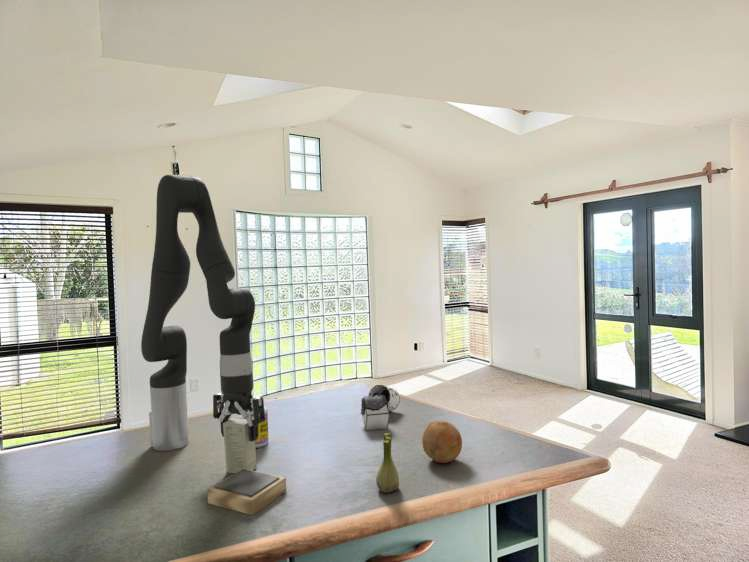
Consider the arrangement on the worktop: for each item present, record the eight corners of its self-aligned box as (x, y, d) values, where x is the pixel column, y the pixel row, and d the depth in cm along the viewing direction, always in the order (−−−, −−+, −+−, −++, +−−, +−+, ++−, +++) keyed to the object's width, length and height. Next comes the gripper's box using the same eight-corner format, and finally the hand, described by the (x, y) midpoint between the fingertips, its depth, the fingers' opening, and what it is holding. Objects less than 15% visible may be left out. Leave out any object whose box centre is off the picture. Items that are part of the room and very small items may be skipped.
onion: (467, 456, 123) (466, 416, 123) (456, 472, 114) (455, 429, 114) (430, 451, 127) (429, 413, 127) (417, 466, 118) (416, 425, 118)
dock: (207, 503, 103) (207, 487, 103) (244, 481, 113) (243, 466, 112) (252, 515, 97) (251, 498, 97) (286, 491, 107) (285, 475, 107)
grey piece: (372, 408, 166) (371, 379, 166) (401, 409, 164) (400, 379, 164) (354, 434, 142) (353, 400, 141) (388, 435, 140) (387, 401, 139)
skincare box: (257, 468, 120) (255, 418, 119) (246, 475, 116) (244, 424, 115) (235, 465, 122) (233, 417, 121) (224, 472, 118) (222, 422, 117)
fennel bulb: (390, 498, 103) (389, 441, 102) (370, 492, 105) (369, 437, 105) (403, 486, 108) (402, 432, 107) (384, 482, 110) (383, 429, 110)
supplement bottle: (262, 449, 132) (260, 402, 131) (239, 448, 133) (237, 401, 133) (272, 440, 138) (270, 395, 138) (250, 439, 140) (248, 394, 139)
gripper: (202, 373, 118) (206, 439, 118) (248, 376, 111) (252, 447, 112) (225, 366, 124) (228, 430, 125) (269, 370, 118) (273, 436, 118)
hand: (239, 438), depth 118 cm, fingers open, 8 cm apart
